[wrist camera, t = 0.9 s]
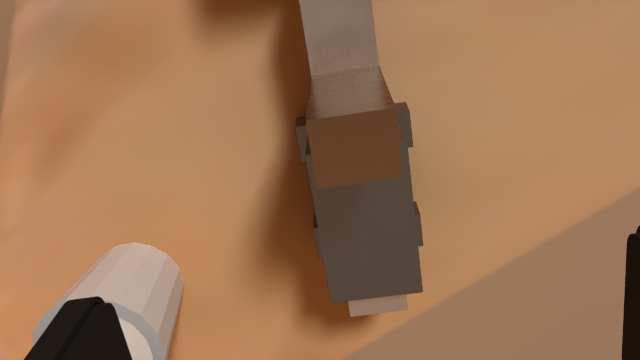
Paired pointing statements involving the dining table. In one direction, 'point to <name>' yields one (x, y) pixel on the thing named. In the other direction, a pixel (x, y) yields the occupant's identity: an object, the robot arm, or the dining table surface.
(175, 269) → the shot glass
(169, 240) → the dining table surface
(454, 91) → the dining table surface
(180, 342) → the dining table surface
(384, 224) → the sleeve
